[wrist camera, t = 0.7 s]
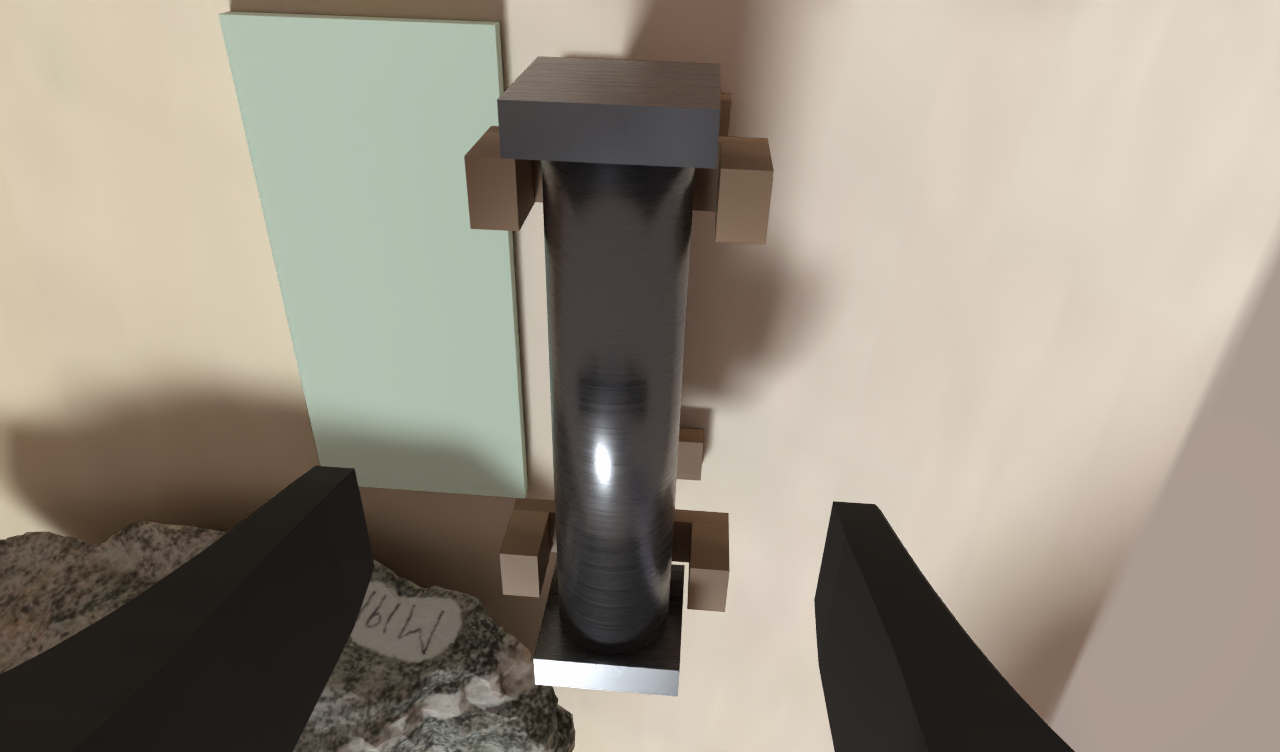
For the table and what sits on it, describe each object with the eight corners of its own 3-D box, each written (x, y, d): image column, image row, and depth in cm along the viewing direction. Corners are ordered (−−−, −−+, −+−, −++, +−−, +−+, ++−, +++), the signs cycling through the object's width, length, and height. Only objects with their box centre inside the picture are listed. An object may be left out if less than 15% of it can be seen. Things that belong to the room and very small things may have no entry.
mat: (527, 488, 23) (525, 498, 22) (330, 474, 23) (324, 483, 23) (499, 21, 17) (495, 25, 16) (228, 11, 17) (218, 14, 17)
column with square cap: (683, 589, 20) (677, 696, 17) (558, 580, 20) (535, 684, 17) (720, 63, 13) (720, 109, 11) (537, 56, 14) (497, 99, 11)
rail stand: (723, 467, 22) (724, 611, 18) (544, 455, 22) (502, 594, 18) (759, 95, 17) (773, 171, 13) (527, 85, 17) (463, 156, 13)
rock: (567, 542, 21) (515, 1018, 17) (601, 574, 30) (571, 890, 27) (-117, 489, 22) (-277, 925, 19) (118, 535, 31) (36, 834, 28)
